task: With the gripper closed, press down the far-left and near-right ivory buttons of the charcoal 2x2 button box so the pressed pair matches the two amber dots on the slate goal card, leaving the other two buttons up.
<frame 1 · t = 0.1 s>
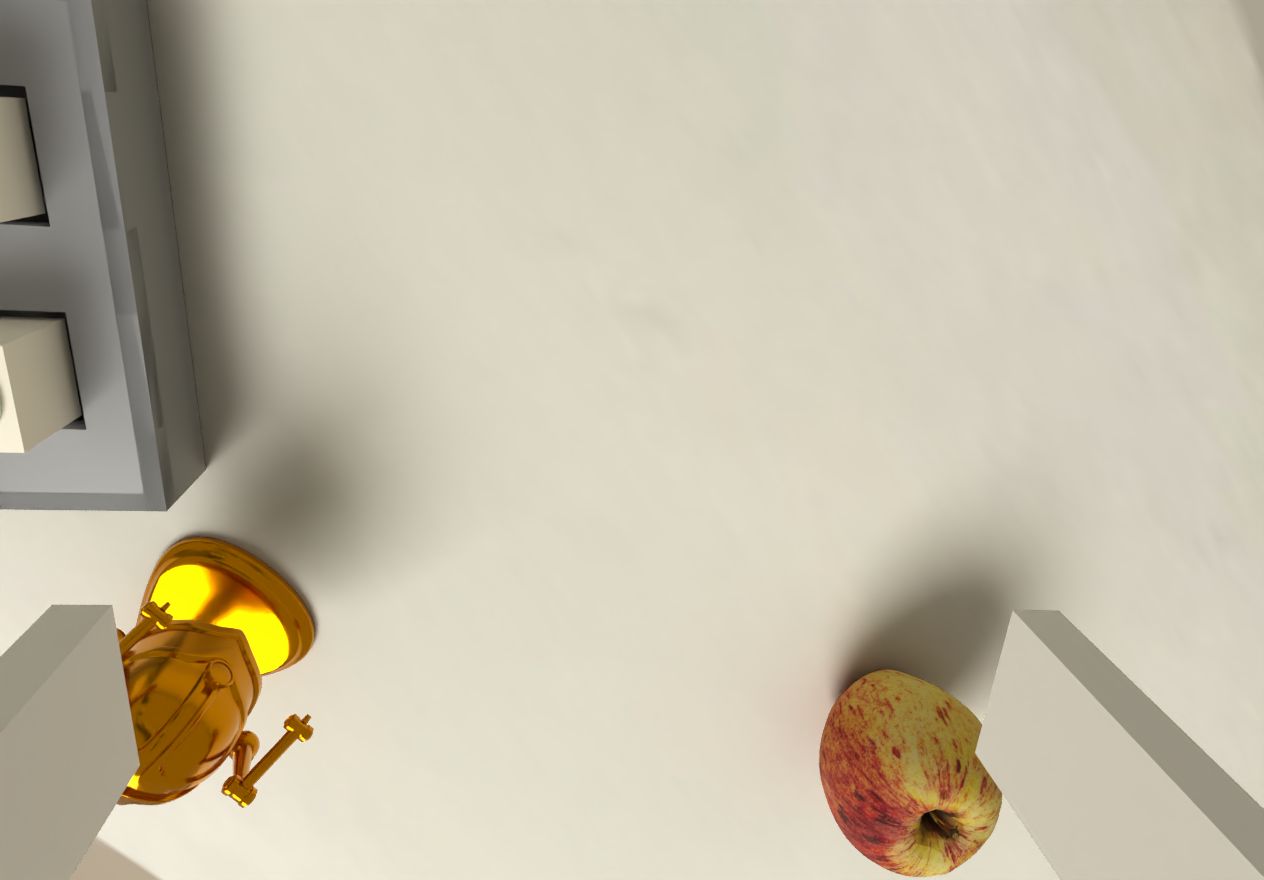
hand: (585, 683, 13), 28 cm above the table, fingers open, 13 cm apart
figurine: (226, 612, 43), on the table
apple: (870, 701, 49), on the table
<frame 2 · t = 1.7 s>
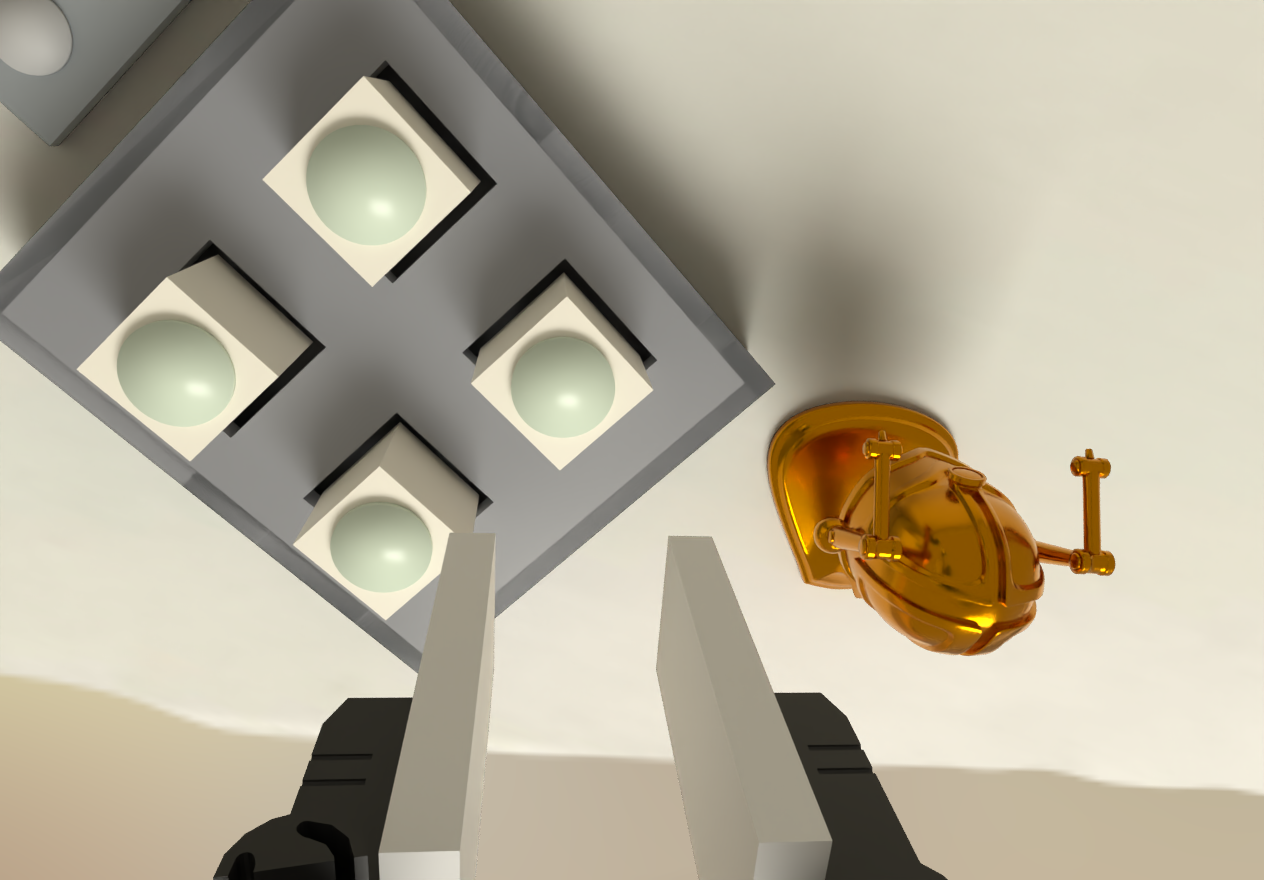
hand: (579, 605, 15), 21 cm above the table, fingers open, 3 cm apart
figurine: (855, 478, 38), on the table
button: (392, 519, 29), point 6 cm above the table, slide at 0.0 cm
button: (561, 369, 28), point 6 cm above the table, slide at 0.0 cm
button box: (413, 319, 33), on the table
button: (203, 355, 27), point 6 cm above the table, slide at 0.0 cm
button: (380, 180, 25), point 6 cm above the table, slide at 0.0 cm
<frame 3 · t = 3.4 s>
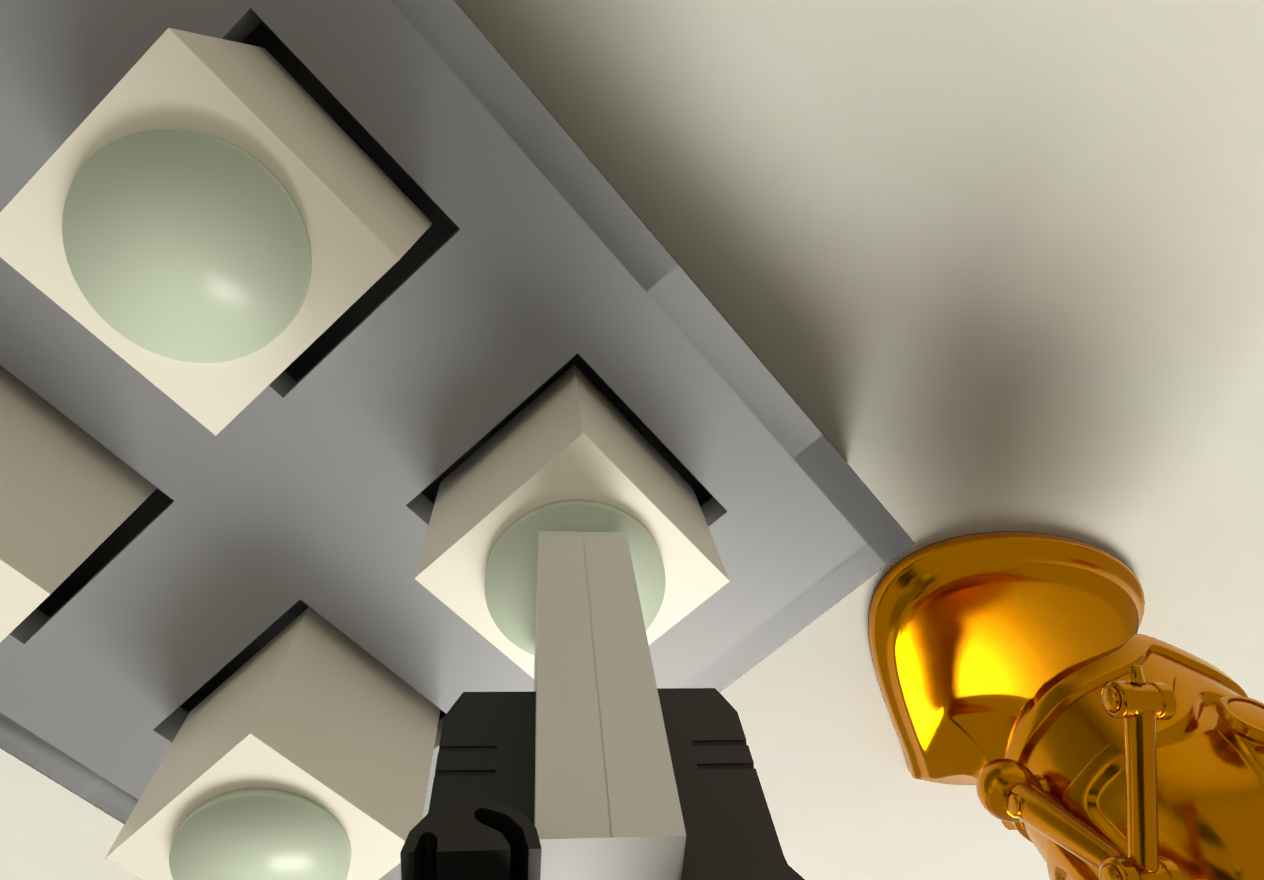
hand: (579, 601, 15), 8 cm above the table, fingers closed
figurine: (992, 634, 26), on the table
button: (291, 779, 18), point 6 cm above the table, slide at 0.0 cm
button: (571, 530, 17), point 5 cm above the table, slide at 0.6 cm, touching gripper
button box: (340, 426, 21), on the table
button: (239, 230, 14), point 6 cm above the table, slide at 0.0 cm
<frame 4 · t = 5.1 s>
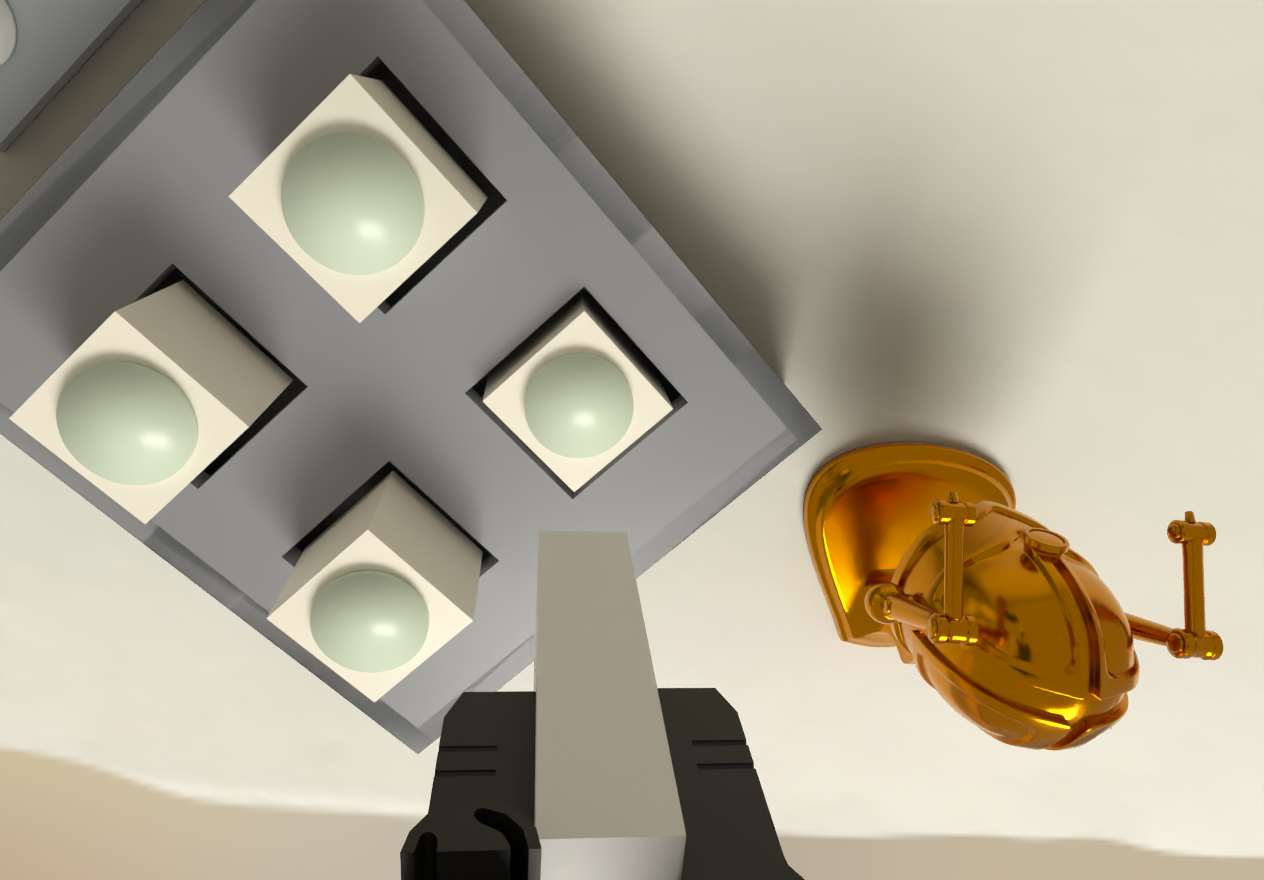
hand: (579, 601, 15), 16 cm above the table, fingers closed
figurine: (900, 525, 34), on the table
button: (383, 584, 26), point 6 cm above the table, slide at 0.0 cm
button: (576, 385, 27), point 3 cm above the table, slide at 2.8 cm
button box: (409, 350, 29), on the table
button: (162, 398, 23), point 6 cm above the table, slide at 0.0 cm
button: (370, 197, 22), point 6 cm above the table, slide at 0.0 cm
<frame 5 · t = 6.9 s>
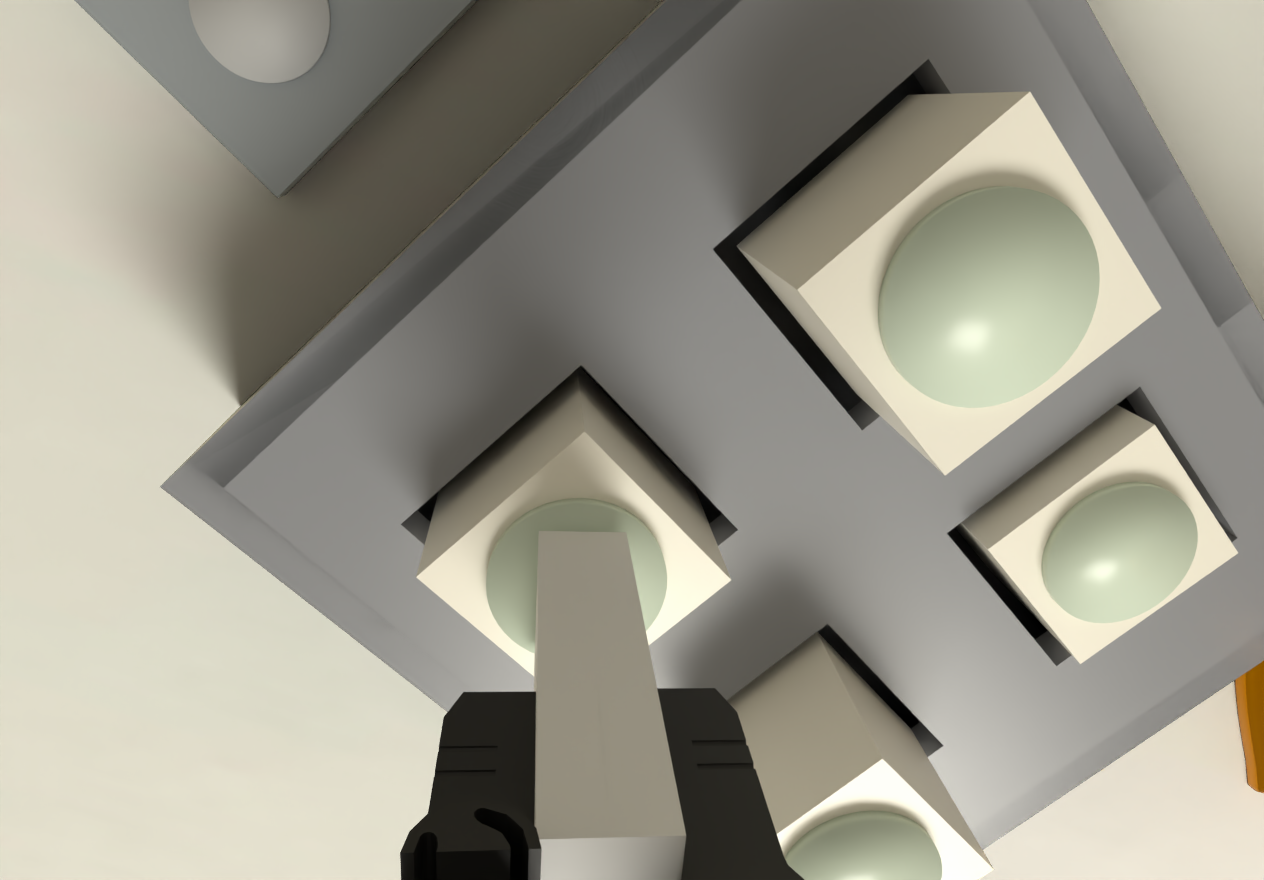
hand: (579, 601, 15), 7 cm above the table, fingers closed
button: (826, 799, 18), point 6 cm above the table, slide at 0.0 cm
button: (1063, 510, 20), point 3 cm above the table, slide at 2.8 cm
button box: (786, 450, 22), on the table
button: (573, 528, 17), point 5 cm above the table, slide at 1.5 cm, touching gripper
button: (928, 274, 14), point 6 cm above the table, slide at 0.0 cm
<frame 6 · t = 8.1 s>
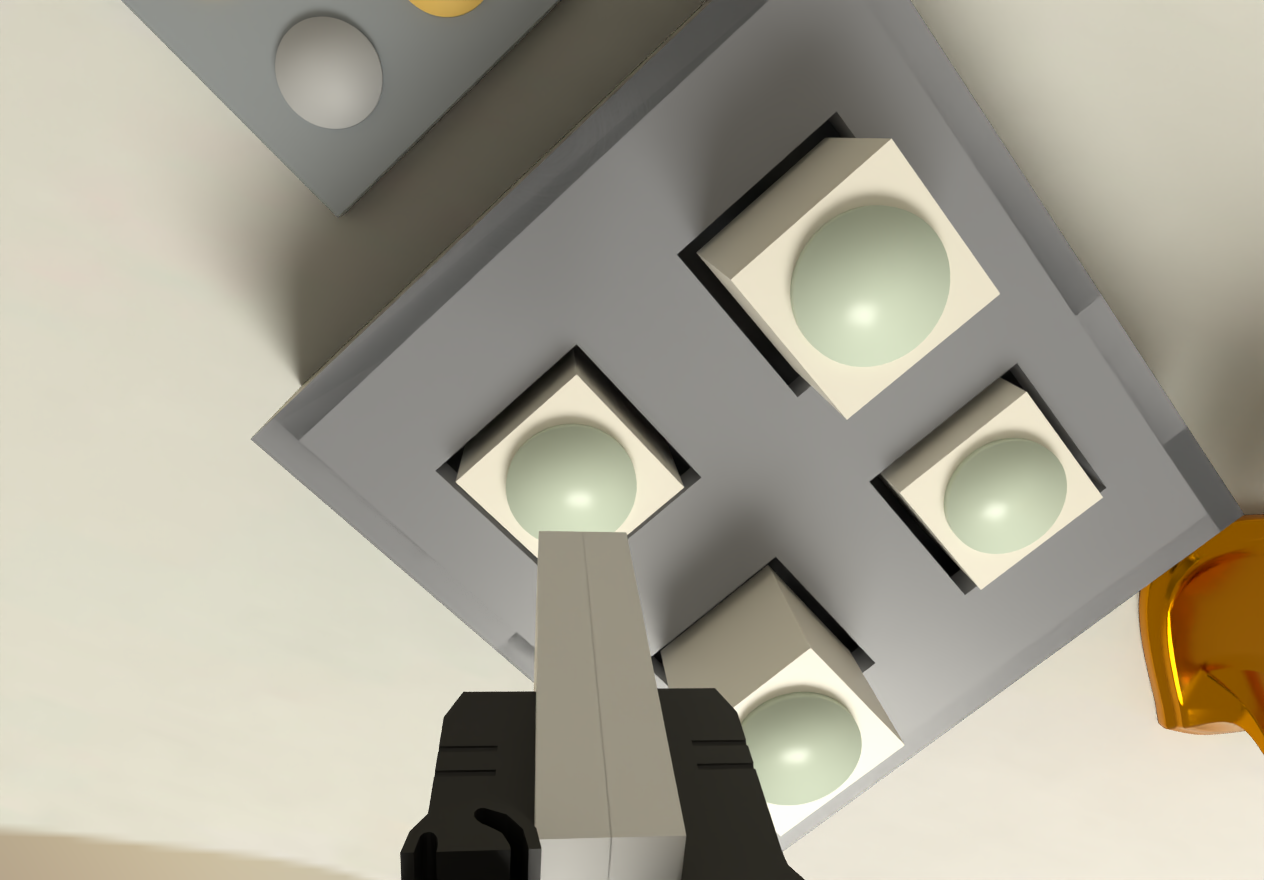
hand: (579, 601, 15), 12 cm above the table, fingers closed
figurine: (1237, 603, 31), on the table
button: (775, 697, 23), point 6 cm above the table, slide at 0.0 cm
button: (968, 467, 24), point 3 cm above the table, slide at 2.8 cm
button box: (747, 424, 26), on the table
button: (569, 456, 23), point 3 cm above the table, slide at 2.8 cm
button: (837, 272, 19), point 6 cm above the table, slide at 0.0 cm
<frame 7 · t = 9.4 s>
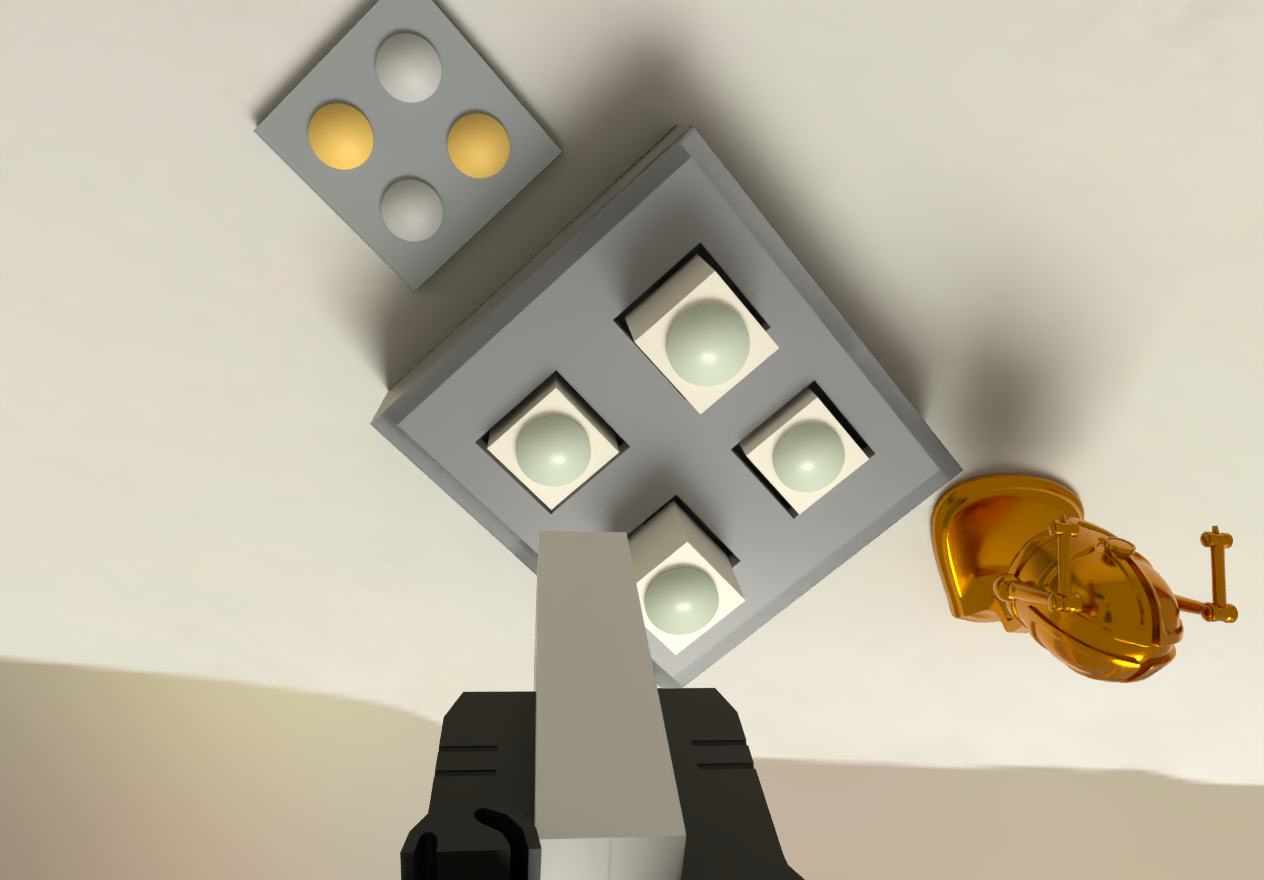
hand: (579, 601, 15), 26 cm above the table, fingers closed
figurine: (999, 533, 47), on the table
goal card: (413, 141, 36), on the table
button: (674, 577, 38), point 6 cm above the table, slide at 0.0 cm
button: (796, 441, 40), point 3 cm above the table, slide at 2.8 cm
button box: (667, 414, 42), on the table
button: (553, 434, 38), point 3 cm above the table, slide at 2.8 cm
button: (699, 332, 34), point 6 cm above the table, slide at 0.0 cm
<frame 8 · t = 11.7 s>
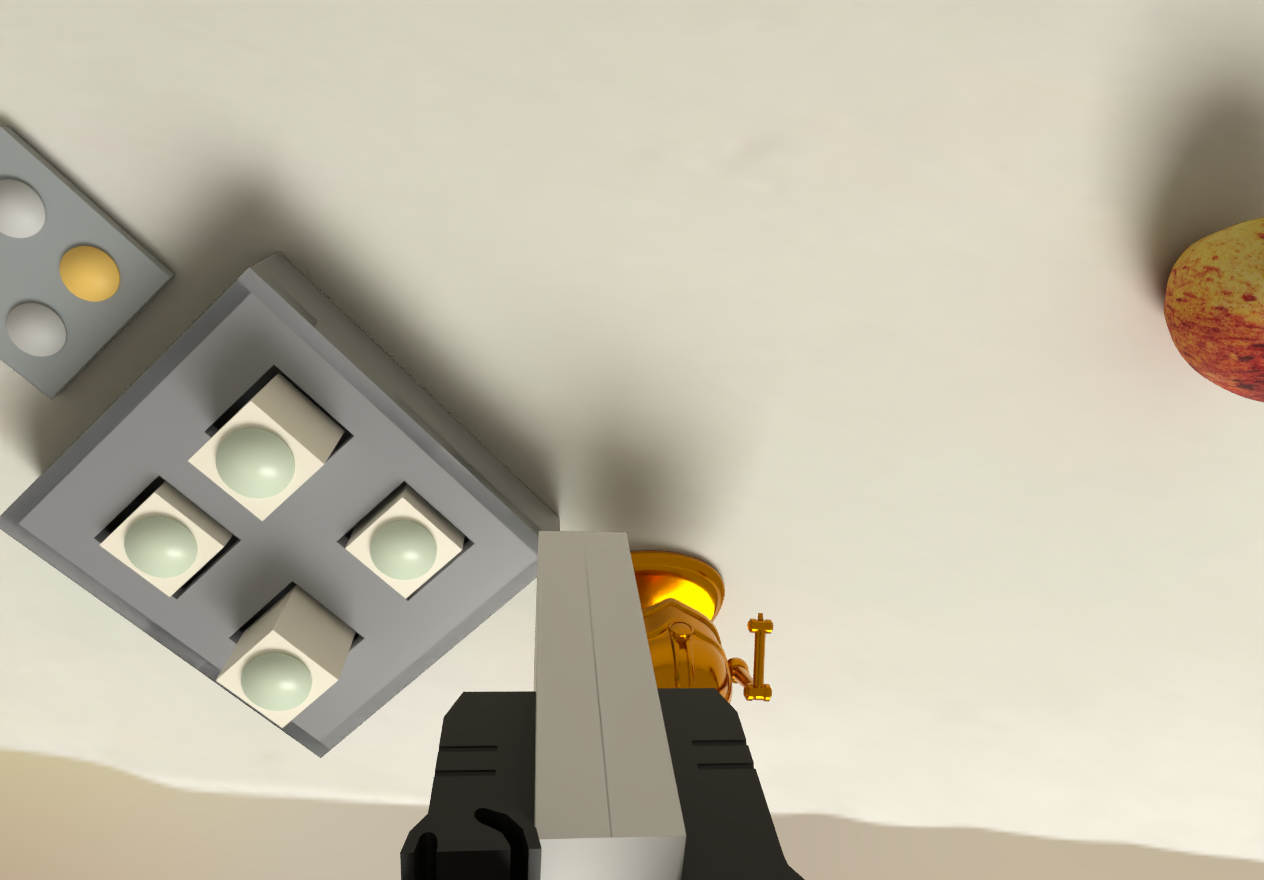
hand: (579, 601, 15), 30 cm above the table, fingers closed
figurine: (650, 603, 51), on the table
goal card: (34, 268, 40), on the table
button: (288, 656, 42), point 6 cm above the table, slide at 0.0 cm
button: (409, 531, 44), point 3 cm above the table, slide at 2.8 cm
apple: (1198, 285, 47), on the table
button box: (312, 502, 46), on the table
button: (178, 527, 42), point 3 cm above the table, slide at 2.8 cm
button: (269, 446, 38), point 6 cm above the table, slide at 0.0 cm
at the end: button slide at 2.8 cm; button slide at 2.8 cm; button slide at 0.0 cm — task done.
